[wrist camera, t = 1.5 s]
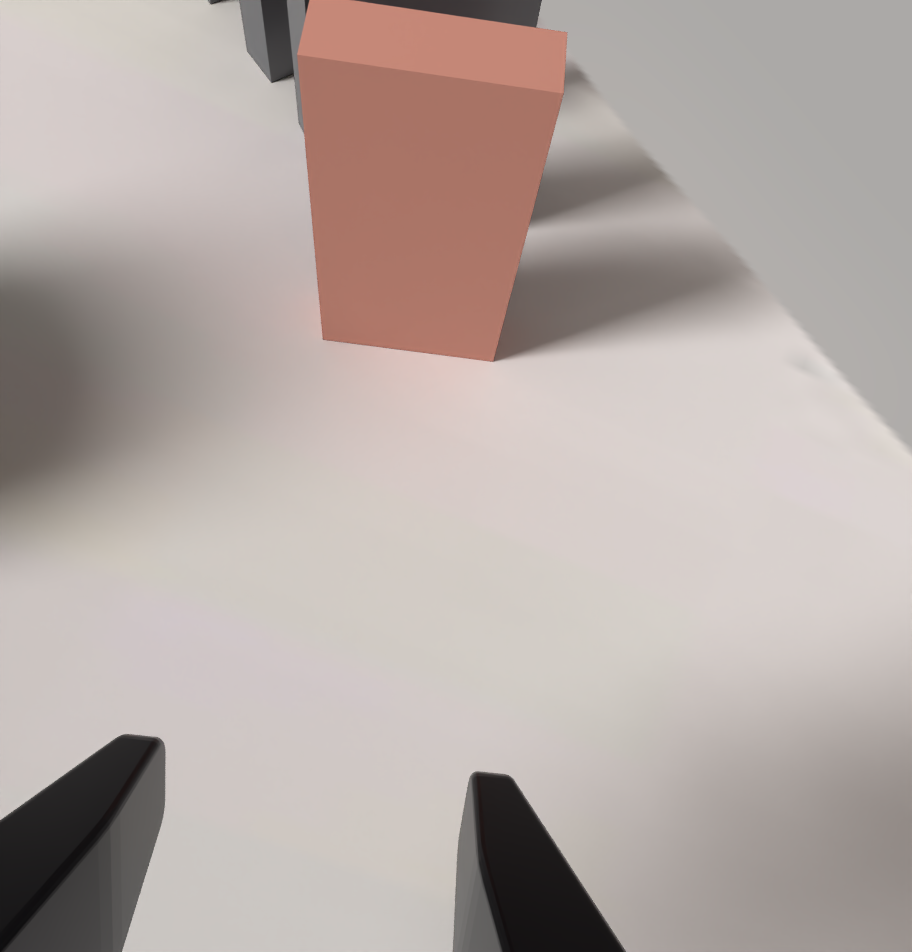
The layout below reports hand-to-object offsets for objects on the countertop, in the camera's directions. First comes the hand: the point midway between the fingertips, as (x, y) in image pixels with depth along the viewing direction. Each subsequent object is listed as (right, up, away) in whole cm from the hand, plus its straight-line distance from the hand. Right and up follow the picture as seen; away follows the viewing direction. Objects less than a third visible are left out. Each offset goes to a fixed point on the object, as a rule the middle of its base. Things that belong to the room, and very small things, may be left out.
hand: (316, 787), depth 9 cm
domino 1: (0, +8, +17) cm, 19 cm away
